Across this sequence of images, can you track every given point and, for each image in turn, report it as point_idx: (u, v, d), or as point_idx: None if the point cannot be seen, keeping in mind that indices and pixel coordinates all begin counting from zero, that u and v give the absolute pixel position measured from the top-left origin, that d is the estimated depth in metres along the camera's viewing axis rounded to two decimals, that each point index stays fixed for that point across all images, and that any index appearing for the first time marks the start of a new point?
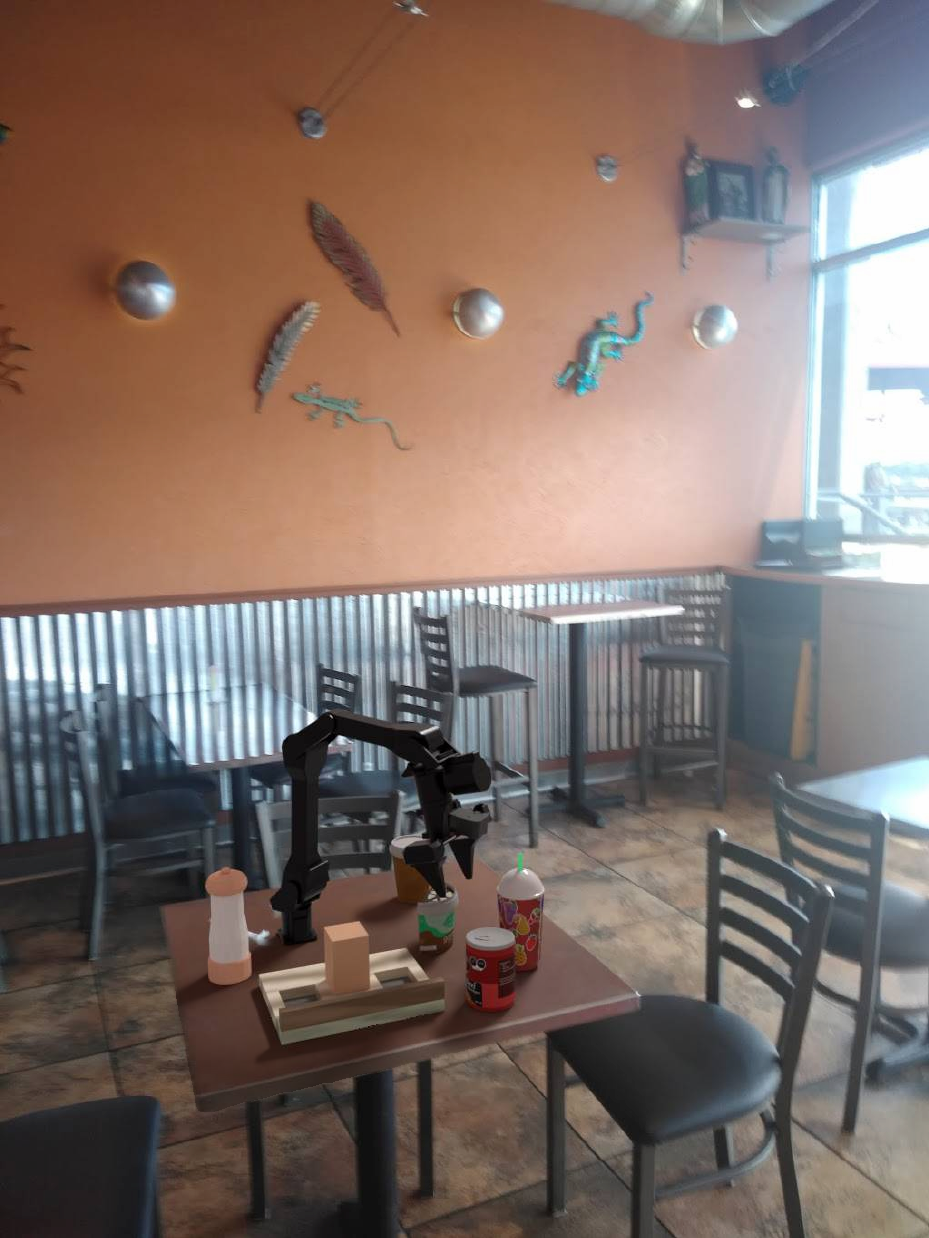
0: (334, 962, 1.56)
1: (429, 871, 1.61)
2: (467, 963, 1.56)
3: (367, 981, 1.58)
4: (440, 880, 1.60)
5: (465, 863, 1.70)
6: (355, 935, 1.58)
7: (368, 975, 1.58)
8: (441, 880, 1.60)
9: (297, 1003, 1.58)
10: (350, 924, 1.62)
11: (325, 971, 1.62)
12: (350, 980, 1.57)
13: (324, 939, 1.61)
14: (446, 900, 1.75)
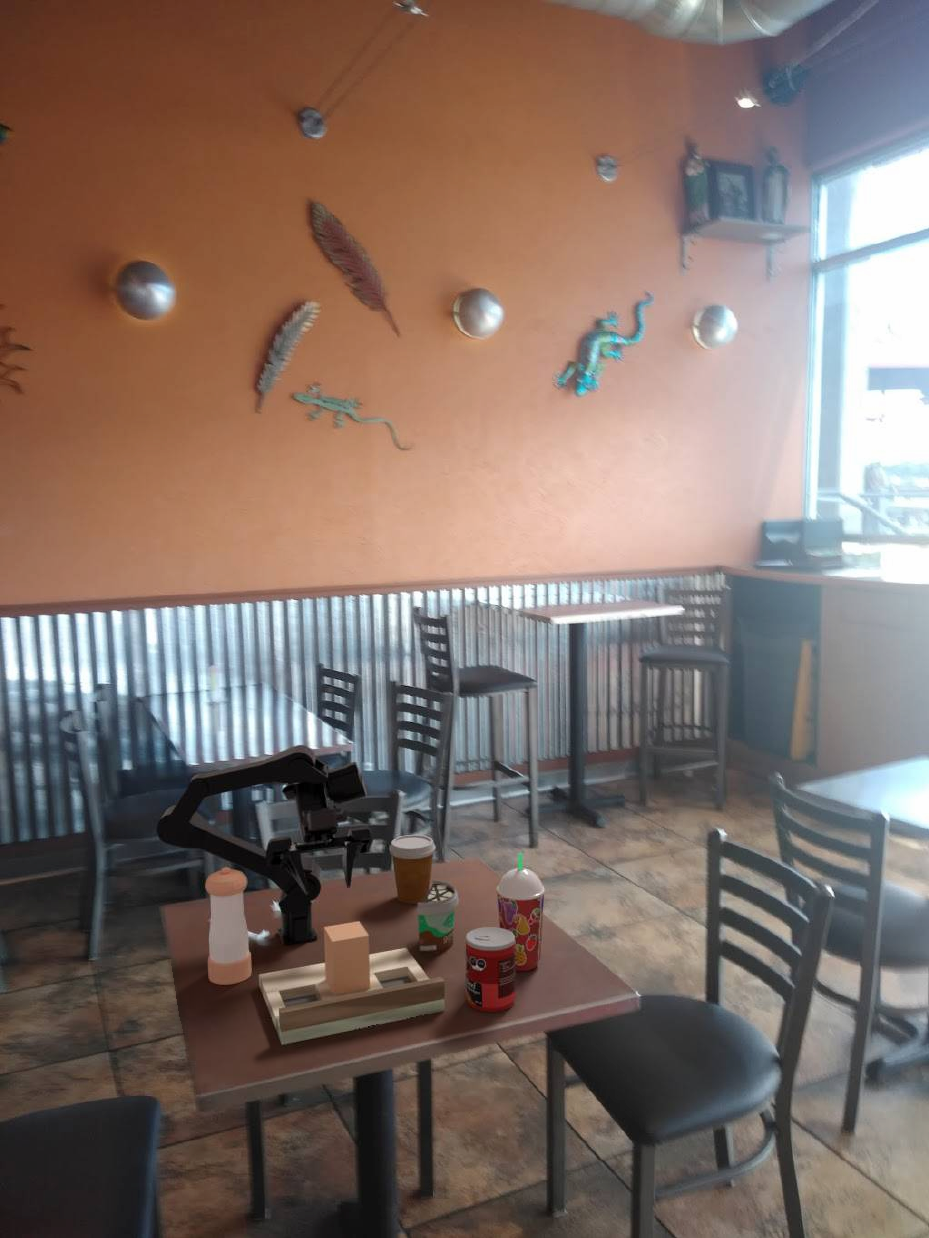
0: (334, 962, 1.56)
1: (295, 870, 1.72)
2: (467, 963, 1.56)
3: (367, 981, 1.58)
4: (298, 874, 1.70)
5: (345, 872, 1.73)
6: (355, 935, 1.58)
7: (368, 975, 1.58)
8: (299, 874, 1.70)
9: (297, 1003, 1.58)
10: (350, 924, 1.62)
11: (325, 971, 1.62)
12: (350, 980, 1.57)
13: (324, 939, 1.61)
14: (446, 900, 1.75)
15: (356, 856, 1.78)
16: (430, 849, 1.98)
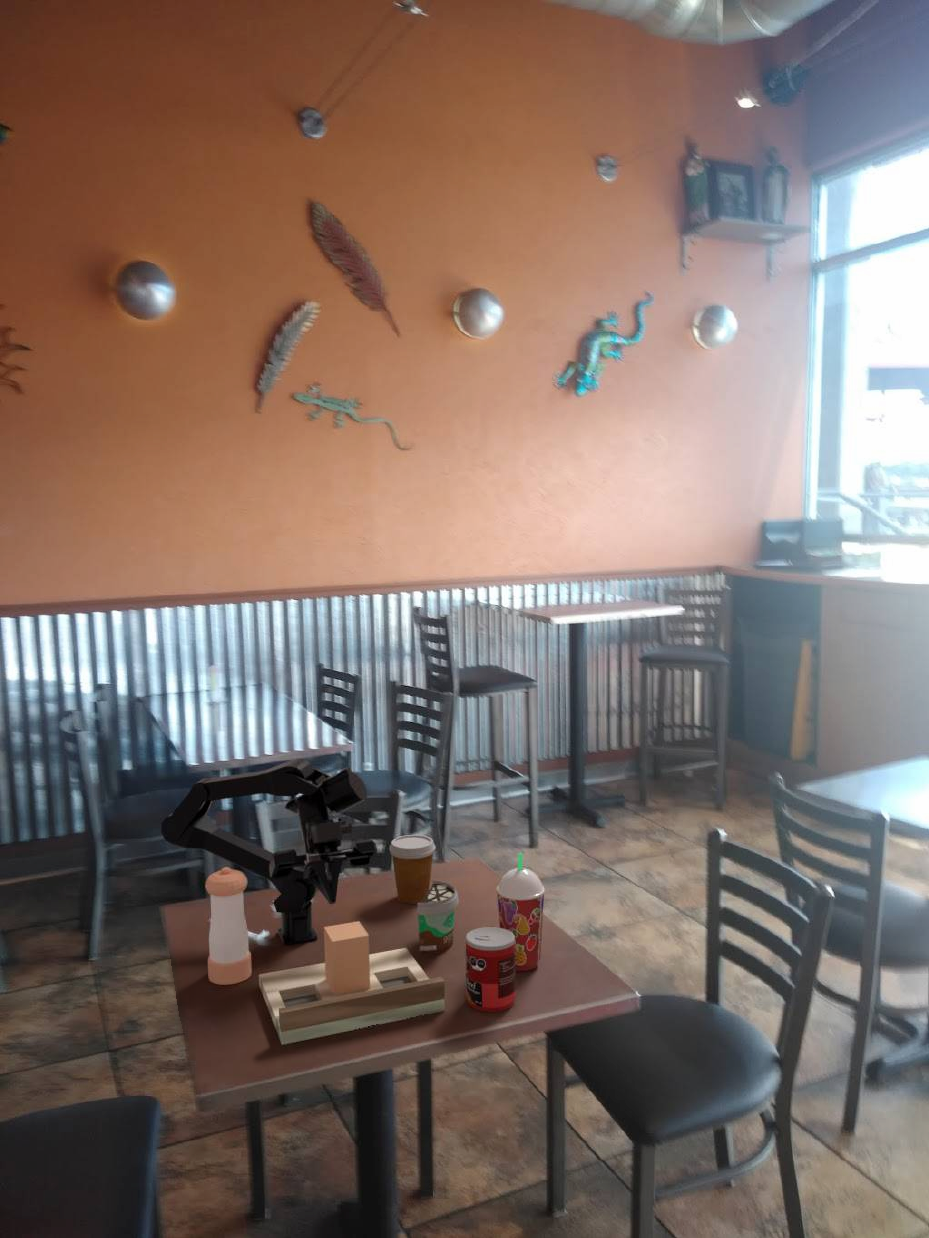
0: (334, 962, 1.56)
1: (319, 880, 1.73)
2: (467, 963, 1.56)
3: (367, 981, 1.58)
4: (323, 884, 1.70)
5: (330, 888, 1.72)
6: (355, 935, 1.58)
7: (368, 975, 1.58)
8: (324, 884, 1.70)
9: (297, 1003, 1.58)
10: (350, 924, 1.62)
11: (325, 971, 1.62)
12: (350, 980, 1.57)
13: (324, 939, 1.61)
14: (446, 900, 1.75)
15: (340, 871, 1.76)
16: (430, 849, 1.98)
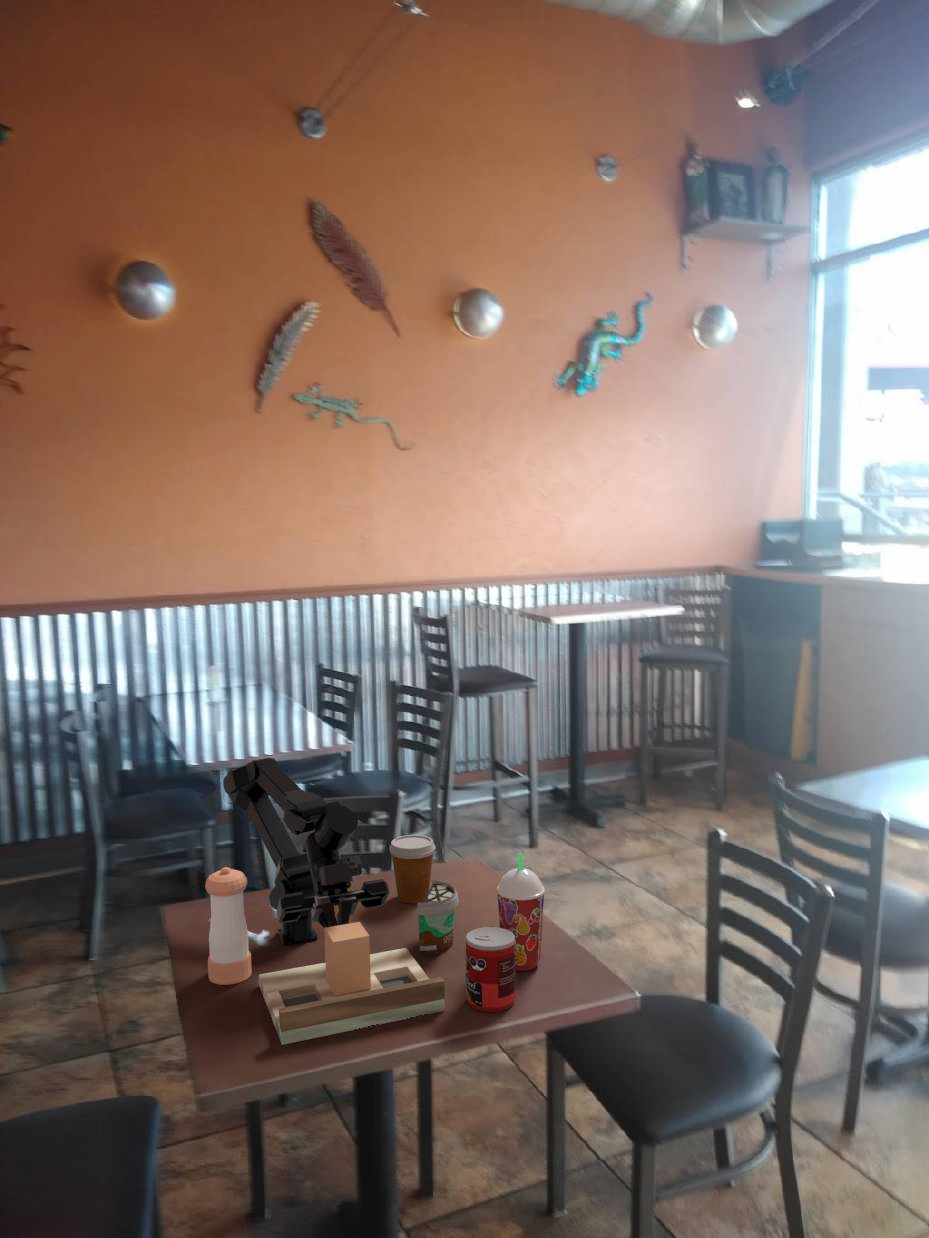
0: (335, 963, 1.56)
1: (328, 923, 1.65)
2: (467, 963, 1.56)
3: (368, 982, 1.58)
4: None
5: None
6: (356, 936, 1.57)
7: (369, 976, 1.58)
8: None
9: (297, 1003, 1.58)
10: (351, 925, 1.62)
11: (326, 972, 1.61)
12: (351, 981, 1.57)
13: (325, 940, 1.61)
14: (446, 900, 1.75)
15: (351, 913, 1.69)
16: (430, 849, 1.98)
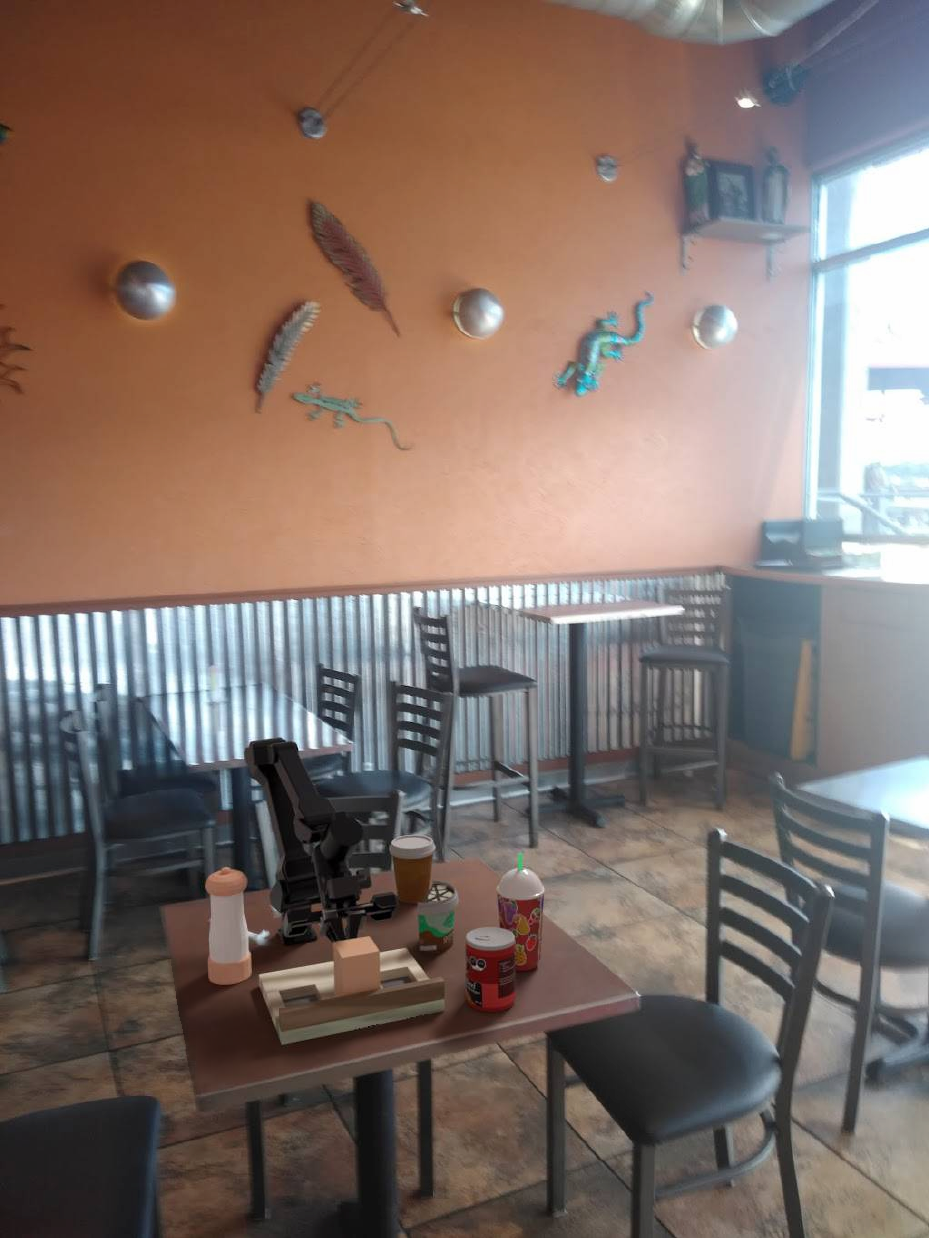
0: (344, 979, 1.50)
1: (336, 938, 1.60)
2: (467, 963, 1.56)
3: None
4: None
5: None
6: (366, 951, 1.52)
7: None
8: None
9: (297, 1003, 1.58)
10: (360, 939, 1.56)
11: (334, 988, 1.56)
12: None
13: (333, 955, 1.55)
14: (446, 900, 1.75)
15: (360, 927, 1.63)
16: (430, 849, 1.98)
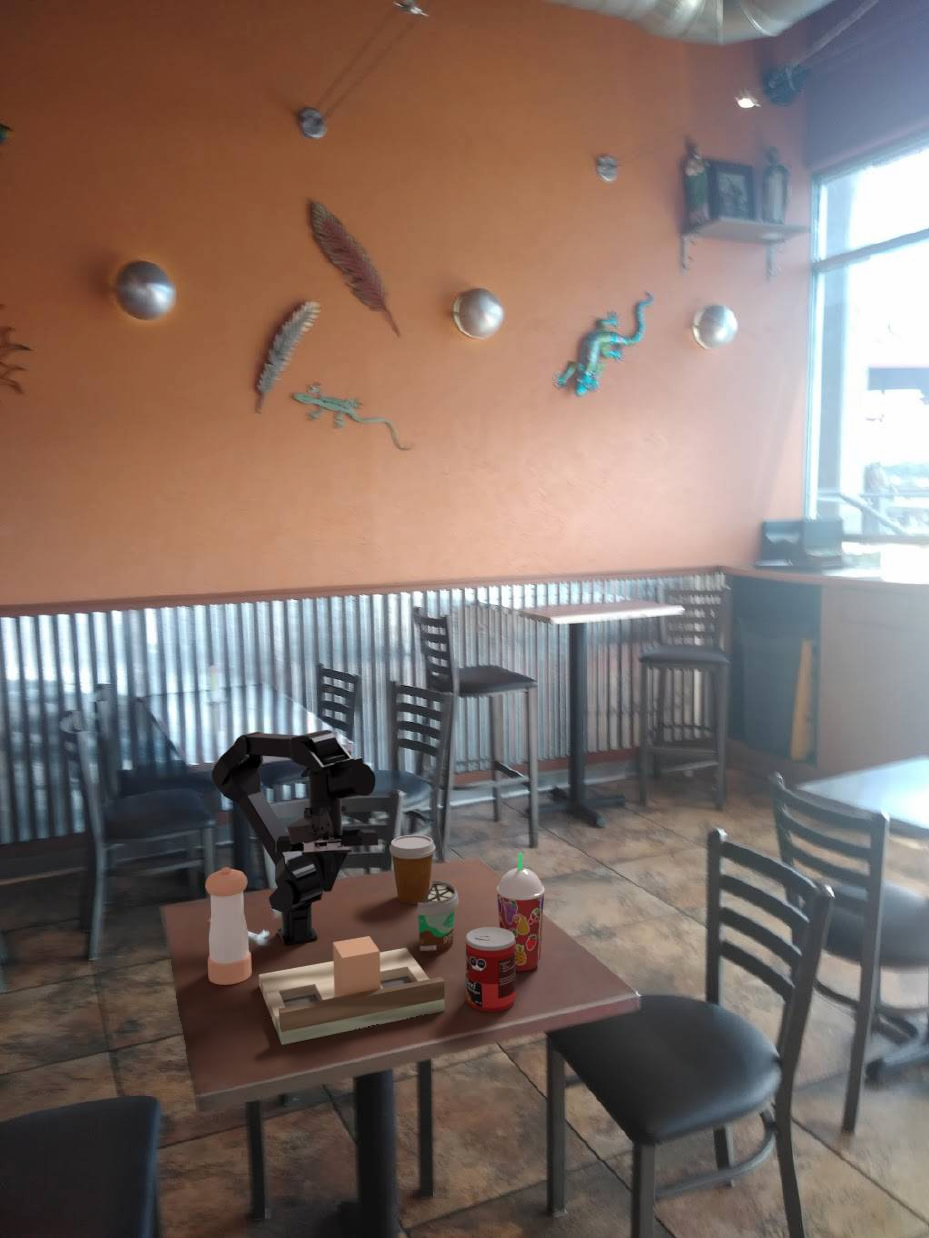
0: (344, 979, 1.50)
1: None
2: (467, 963, 1.56)
3: None
4: (317, 873, 1.71)
5: None
6: (366, 951, 1.52)
7: None
8: (318, 873, 1.71)
9: (297, 1003, 1.58)
10: (360, 939, 1.56)
11: (334, 988, 1.56)
12: None
13: (333, 955, 1.55)
14: (446, 900, 1.75)
15: (347, 852, 1.72)
16: (430, 849, 1.98)
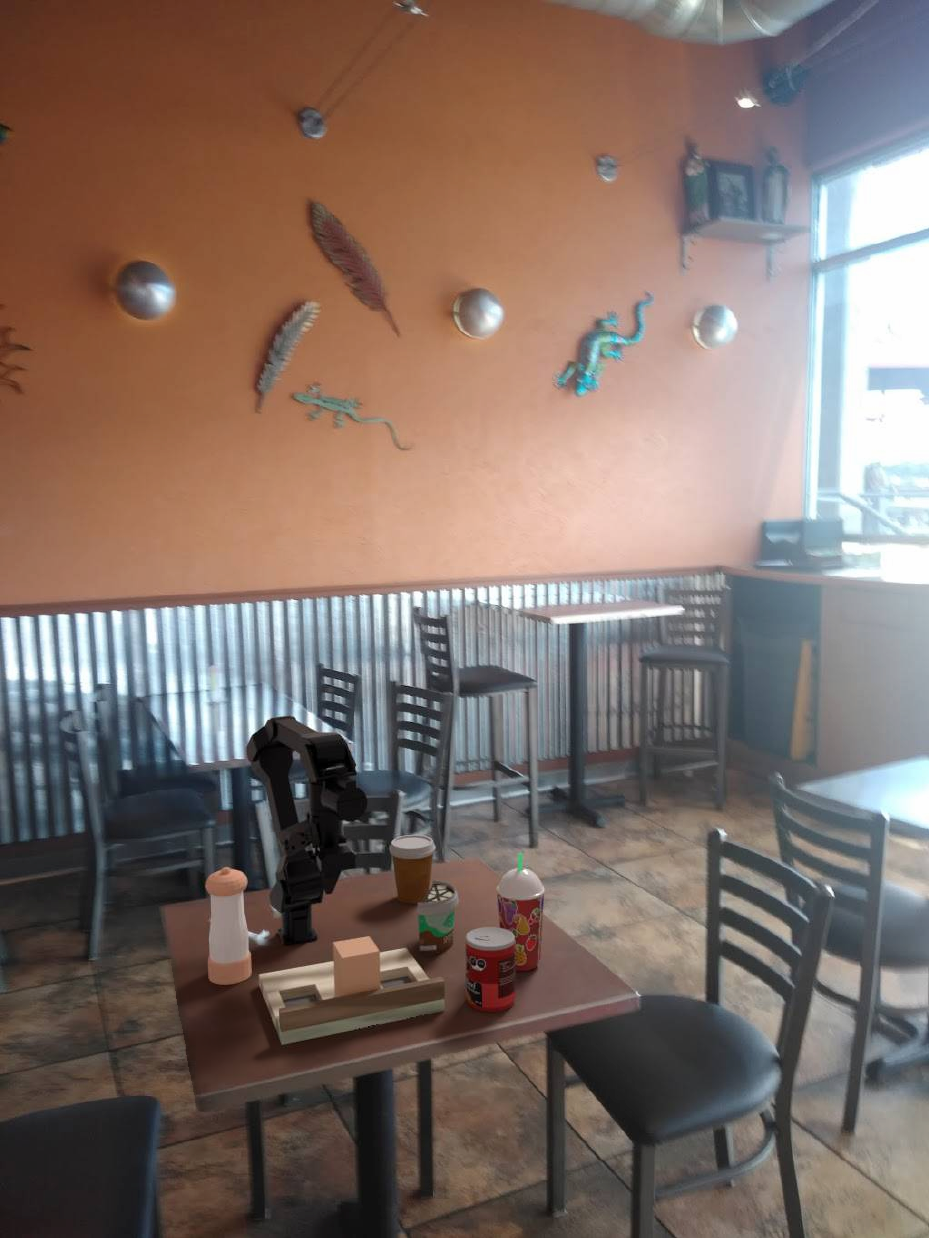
0: (344, 979, 1.50)
1: None
2: (467, 963, 1.56)
3: None
4: (320, 874, 1.71)
5: None
6: (366, 951, 1.52)
7: None
8: (320, 875, 1.71)
9: (297, 1003, 1.58)
10: (360, 939, 1.56)
11: (334, 988, 1.56)
12: None
13: (333, 955, 1.55)
14: (446, 900, 1.75)
15: None
16: (430, 849, 1.98)
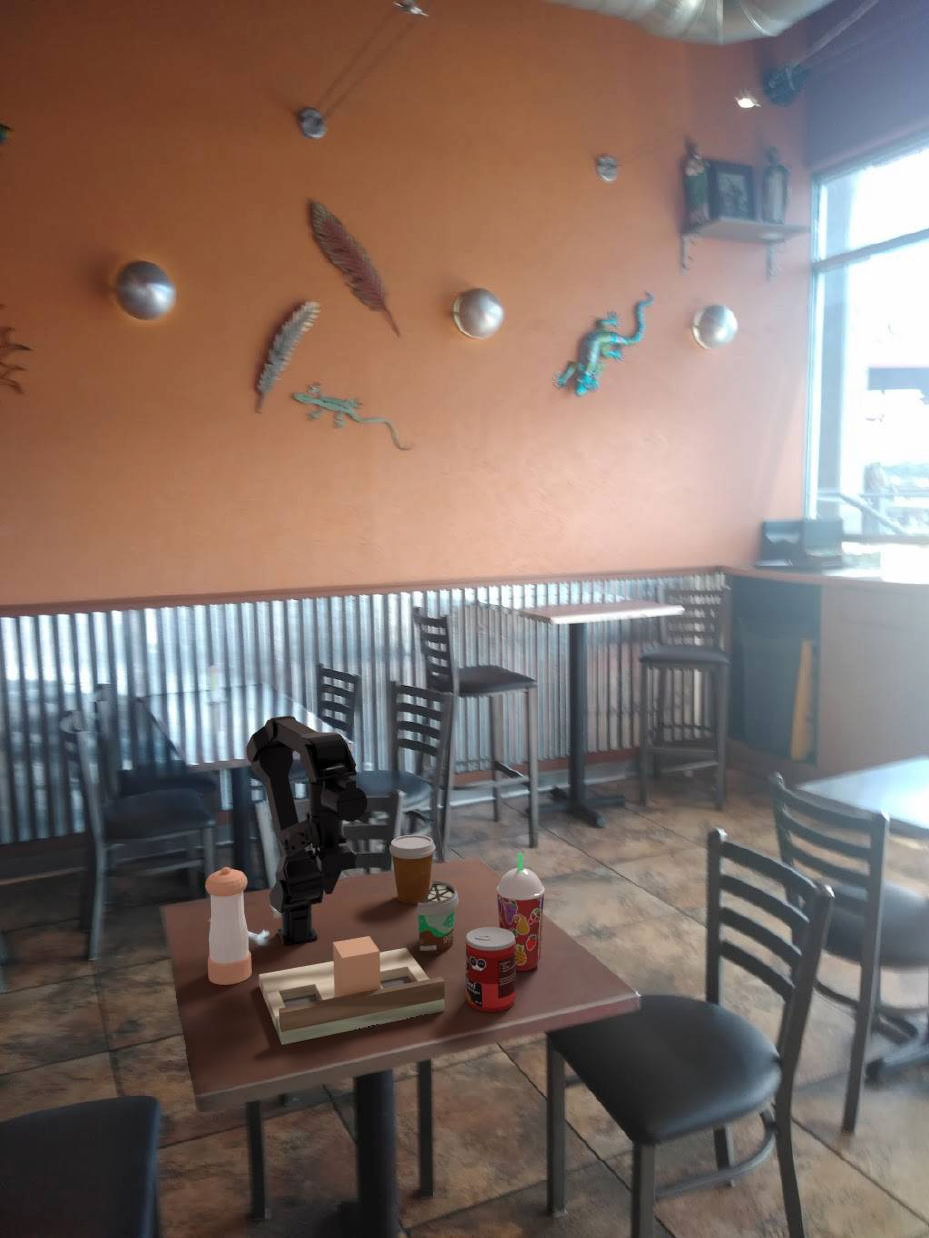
0: (344, 979, 1.50)
1: None
2: (467, 963, 1.56)
3: None
4: (320, 874, 1.71)
5: None
6: (366, 951, 1.52)
7: None
8: (320, 875, 1.71)
9: (297, 1003, 1.58)
10: (360, 939, 1.56)
11: (334, 988, 1.56)
12: None
13: (333, 955, 1.55)
14: (446, 900, 1.75)
15: None
16: (430, 849, 1.98)
